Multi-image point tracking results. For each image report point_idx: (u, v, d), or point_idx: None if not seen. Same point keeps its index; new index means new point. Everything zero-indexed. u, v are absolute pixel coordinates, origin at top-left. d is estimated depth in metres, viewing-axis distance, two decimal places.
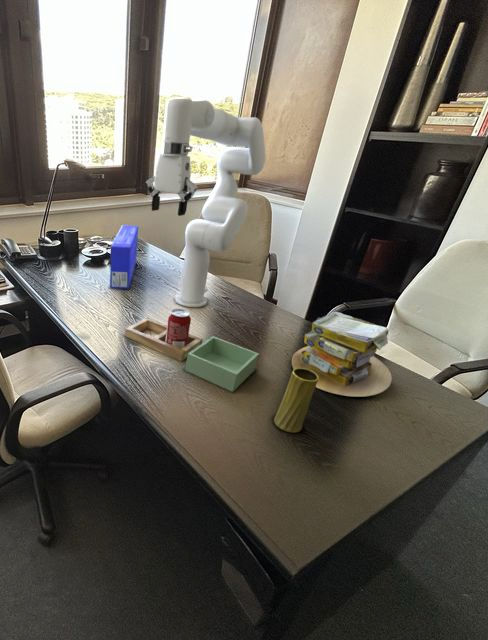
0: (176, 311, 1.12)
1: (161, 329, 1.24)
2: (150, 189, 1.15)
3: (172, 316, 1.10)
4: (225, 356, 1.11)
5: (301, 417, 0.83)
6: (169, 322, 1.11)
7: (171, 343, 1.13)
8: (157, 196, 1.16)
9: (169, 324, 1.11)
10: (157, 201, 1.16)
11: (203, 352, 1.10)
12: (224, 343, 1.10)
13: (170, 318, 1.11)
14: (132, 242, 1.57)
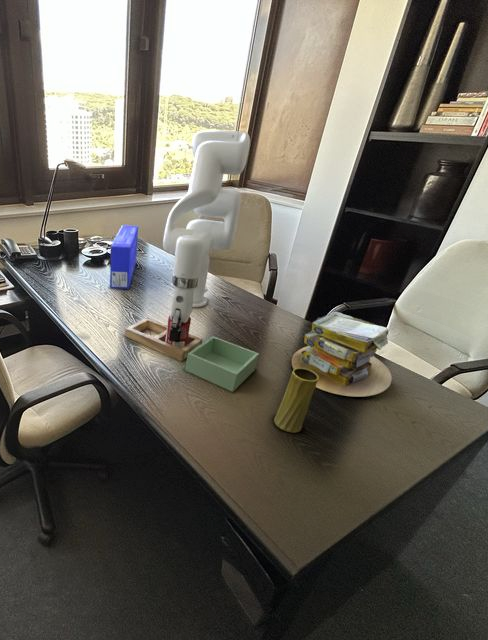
0: None
1: (161, 329, 1.24)
2: None
3: None
4: (225, 356, 1.11)
5: (301, 417, 0.83)
6: (169, 322, 1.11)
7: (171, 343, 1.13)
8: None
9: (169, 324, 1.11)
10: None
11: (203, 352, 1.10)
12: (224, 343, 1.10)
13: None
14: (132, 242, 1.57)
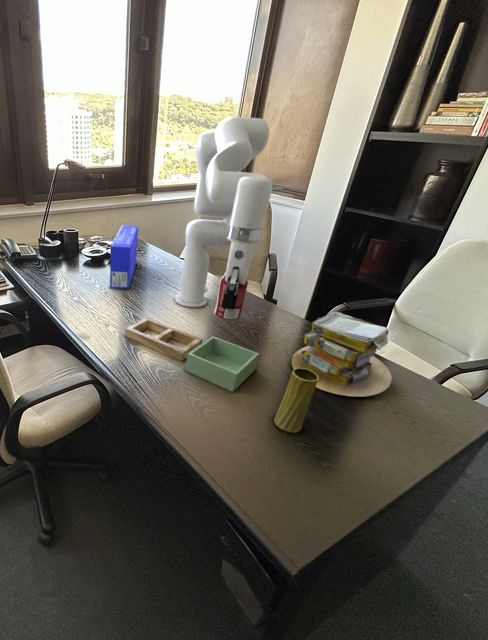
0: None
1: (161, 329, 1.24)
2: None
3: None
4: (225, 356, 1.11)
5: (301, 417, 0.83)
6: (222, 285, 0.94)
7: (223, 311, 0.96)
8: None
9: (222, 288, 0.94)
10: None
11: (203, 352, 1.10)
12: (224, 343, 1.10)
13: (223, 280, 0.93)
14: (132, 242, 1.57)
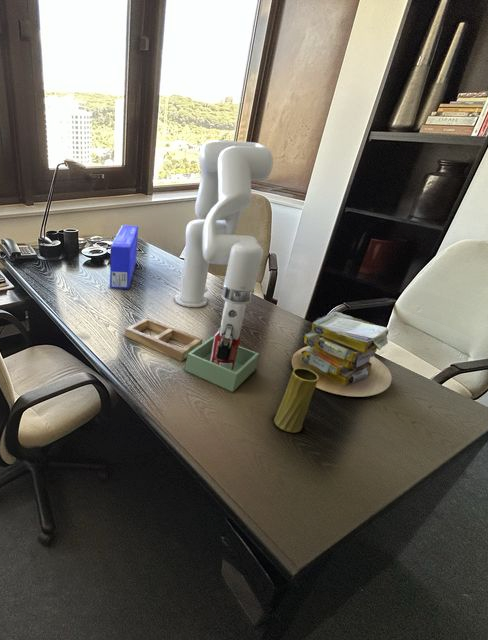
0: None
1: (161, 329, 1.24)
2: None
3: None
4: None
5: (301, 417, 0.83)
6: (216, 342, 1.01)
7: (217, 364, 1.02)
8: None
9: (216, 344, 1.01)
10: None
11: (203, 352, 1.10)
12: None
13: (217, 337, 1.00)
14: (132, 242, 1.57)
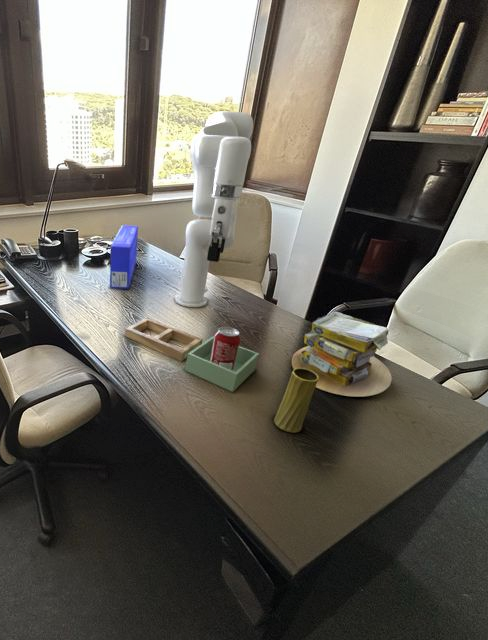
0: (223, 329, 1.02)
1: (161, 329, 1.24)
2: None
3: (220, 335, 1.00)
4: None
5: (301, 417, 0.83)
6: (216, 342, 1.01)
7: (217, 364, 1.02)
8: None
9: (216, 344, 1.01)
10: None
11: (203, 352, 1.10)
12: None
13: (217, 337, 1.00)
14: (132, 242, 1.57)
